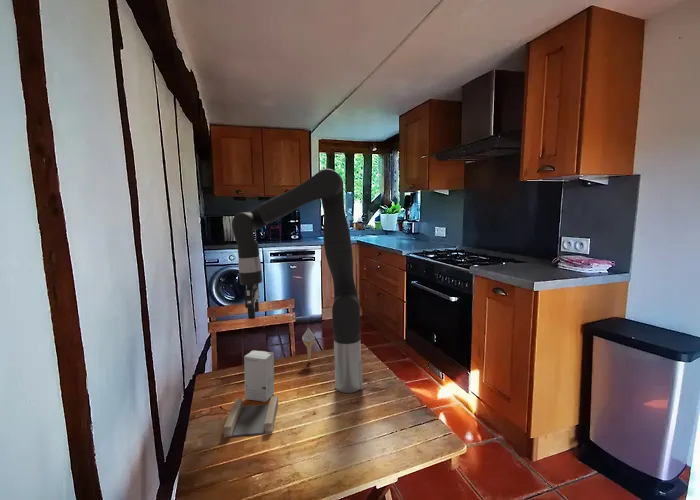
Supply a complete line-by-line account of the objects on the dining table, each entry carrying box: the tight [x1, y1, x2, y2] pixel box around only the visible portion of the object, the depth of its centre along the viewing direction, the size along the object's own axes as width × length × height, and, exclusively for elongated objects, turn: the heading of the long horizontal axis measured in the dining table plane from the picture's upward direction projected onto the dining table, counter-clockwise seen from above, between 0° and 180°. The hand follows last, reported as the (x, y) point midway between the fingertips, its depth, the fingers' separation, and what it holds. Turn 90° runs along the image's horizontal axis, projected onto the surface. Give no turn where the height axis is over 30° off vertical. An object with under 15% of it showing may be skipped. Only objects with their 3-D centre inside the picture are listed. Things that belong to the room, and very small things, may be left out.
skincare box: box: [243, 350, 275, 403], centre depth 110 cm, size 8×6×15 cm
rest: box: [223, 395, 279, 438], centre depth 98 cm, size 13×14×3 cm
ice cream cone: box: [301, 326, 316, 363], centre depth 136 cm, size 6×6×15 cm
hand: (254, 315), depth 116 cm, fingers open, 8 cm apart
